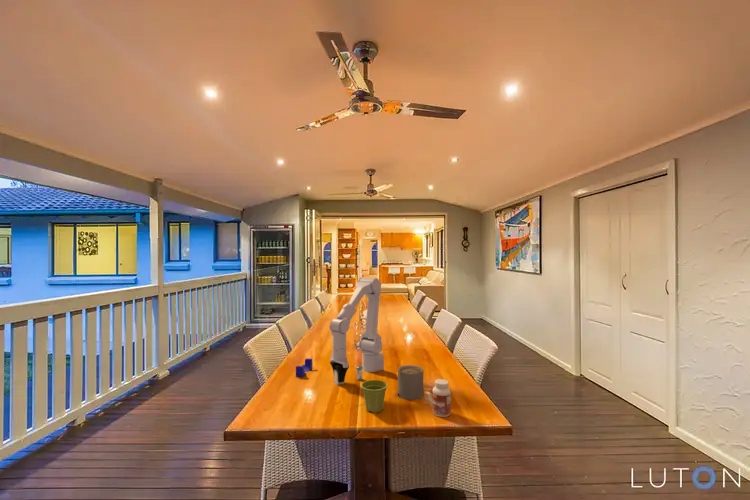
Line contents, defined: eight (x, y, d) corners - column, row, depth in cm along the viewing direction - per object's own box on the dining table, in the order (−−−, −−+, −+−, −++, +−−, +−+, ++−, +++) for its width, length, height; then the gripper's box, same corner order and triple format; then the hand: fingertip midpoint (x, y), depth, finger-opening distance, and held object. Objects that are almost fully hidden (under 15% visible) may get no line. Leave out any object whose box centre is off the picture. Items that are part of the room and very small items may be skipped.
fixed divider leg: (360, 378, 150) (360, 365, 150) (363, 380, 147) (363, 367, 147) (355, 379, 148) (355, 366, 148) (357, 381, 146) (357, 368, 146)
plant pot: (367, 417, 117) (367, 391, 117) (357, 405, 125) (357, 382, 125) (391, 412, 120) (391, 387, 120) (380, 401, 129) (380, 378, 129)
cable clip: (303, 370, 163) (303, 358, 163) (312, 371, 162) (312, 358, 162) (292, 380, 151) (292, 366, 151) (302, 380, 150) (302, 367, 150)
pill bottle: (429, 414, 119) (429, 381, 119) (438, 407, 124) (438, 376, 124) (445, 419, 115) (445, 386, 115) (453, 413, 120) (453, 381, 120)
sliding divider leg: (341, 380, 146) (341, 367, 146) (344, 383, 143) (344, 370, 143) (334, 382, 144) (334, 368, 144) (337, 385, 141) (337, 371, 141)
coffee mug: (415, 402, 128) (415, 375, 128) (393, 395, 134) (393, 370, 134) (431, 390, 139) (431, 365, 139) (410, 385, 145) (410, 361, 145)
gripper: (324, 344, 148) (324, 376, 148) (337, 353, 135) (336, 387, 135) (339, 342, 151) (339, 373, 151) (353, 350, 138) (353, 384, 138)
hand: (339, 380), depth 143 cm, fingers closed on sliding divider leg, 4 cm apart
